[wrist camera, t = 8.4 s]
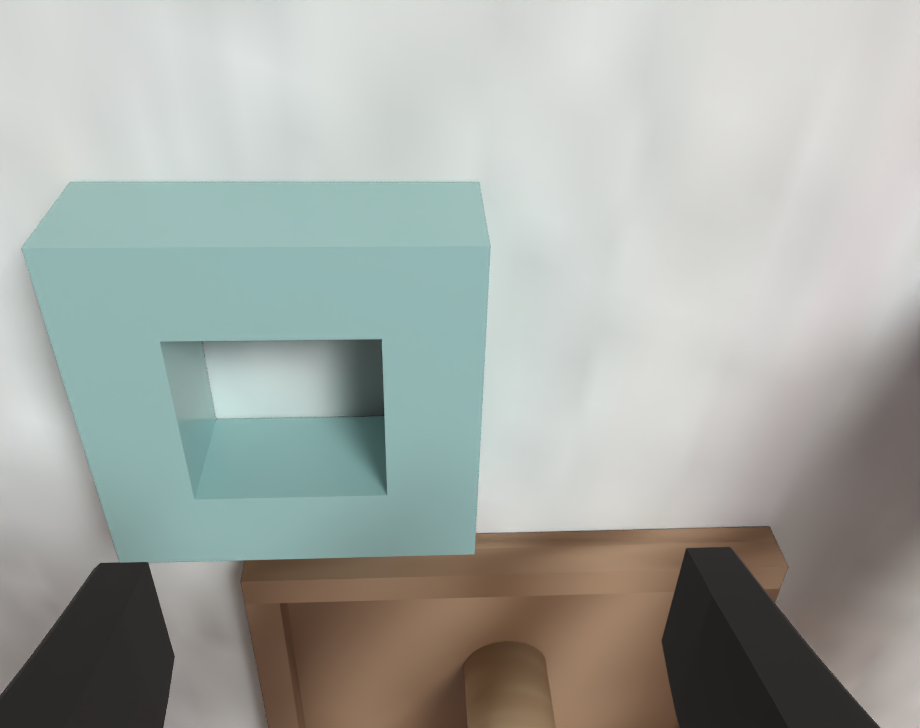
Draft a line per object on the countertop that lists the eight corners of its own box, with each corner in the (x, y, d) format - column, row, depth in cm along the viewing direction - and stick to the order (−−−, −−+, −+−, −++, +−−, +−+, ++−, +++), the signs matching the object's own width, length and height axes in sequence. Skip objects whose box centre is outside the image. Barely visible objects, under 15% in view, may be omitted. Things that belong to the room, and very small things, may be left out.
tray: (769, 526, 27) (788, 566, 25) (696, 738, 34) (708, 778, 33) (248, 539, 26) (240, 581, 24) (286, 754, 33) (281, 796, 32)
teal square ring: (479, 182, 19) (490, 245, 17) (467, 473, 25) (474, 554, 22) (69, 182, 19) (21, 247, 16) (147, 480, 24) (120, 563, 22)
